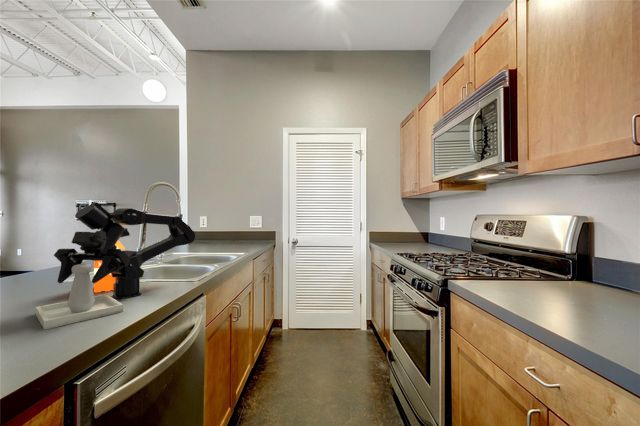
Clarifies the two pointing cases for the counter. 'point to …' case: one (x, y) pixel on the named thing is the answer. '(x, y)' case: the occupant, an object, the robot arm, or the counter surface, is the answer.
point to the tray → (62, 314)
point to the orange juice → (108, 280)
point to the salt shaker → (81, 289)
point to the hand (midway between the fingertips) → (76, 282)
